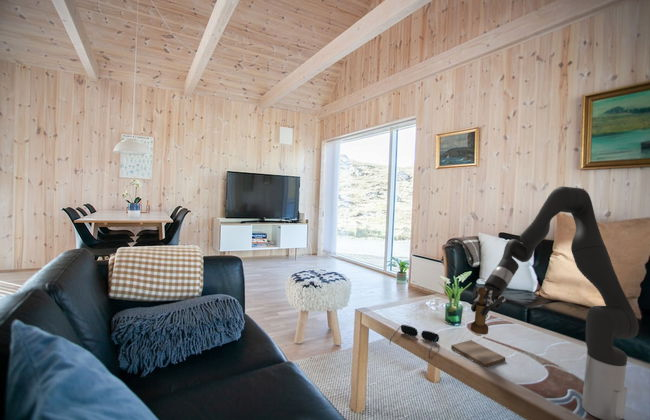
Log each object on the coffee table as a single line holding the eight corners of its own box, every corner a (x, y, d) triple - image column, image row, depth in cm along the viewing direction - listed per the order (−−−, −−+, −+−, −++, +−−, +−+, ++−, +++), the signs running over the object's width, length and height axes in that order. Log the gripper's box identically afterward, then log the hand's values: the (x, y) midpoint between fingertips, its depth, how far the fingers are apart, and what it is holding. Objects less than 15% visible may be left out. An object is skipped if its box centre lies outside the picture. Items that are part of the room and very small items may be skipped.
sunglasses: (439, 344, 144) (439, 333, 143) (429, 362, 132) (429, 351, 131) (401, 333, 154) (401, 323, 153) (388, 349, 142) (388, 338, 141)
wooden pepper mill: (490, 335, 131) (493, 291, 130) (472, 333, 132) (475, 289, 131) (485, 328, 138) (488, 286, 136) (469, 326, 139) (471, 284, 137)
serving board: (505, 361, 131) (505, 357, 131) (485, 367, 126) (485, 363, 125) (470, 343, 145) (470, 340, 145) (451, 348, 140) (451, 345, 140)
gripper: (480, 270, 143) (458, 301, 138) (512, 279, 130) (489, 313, 126) (487, 280, 146) (466, 311, 141) (519, 290, 133) (497, 325, 128)
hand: (477, 312), depth 133 cm, fingers closed on wooden pepper mill, 4 cm apart
